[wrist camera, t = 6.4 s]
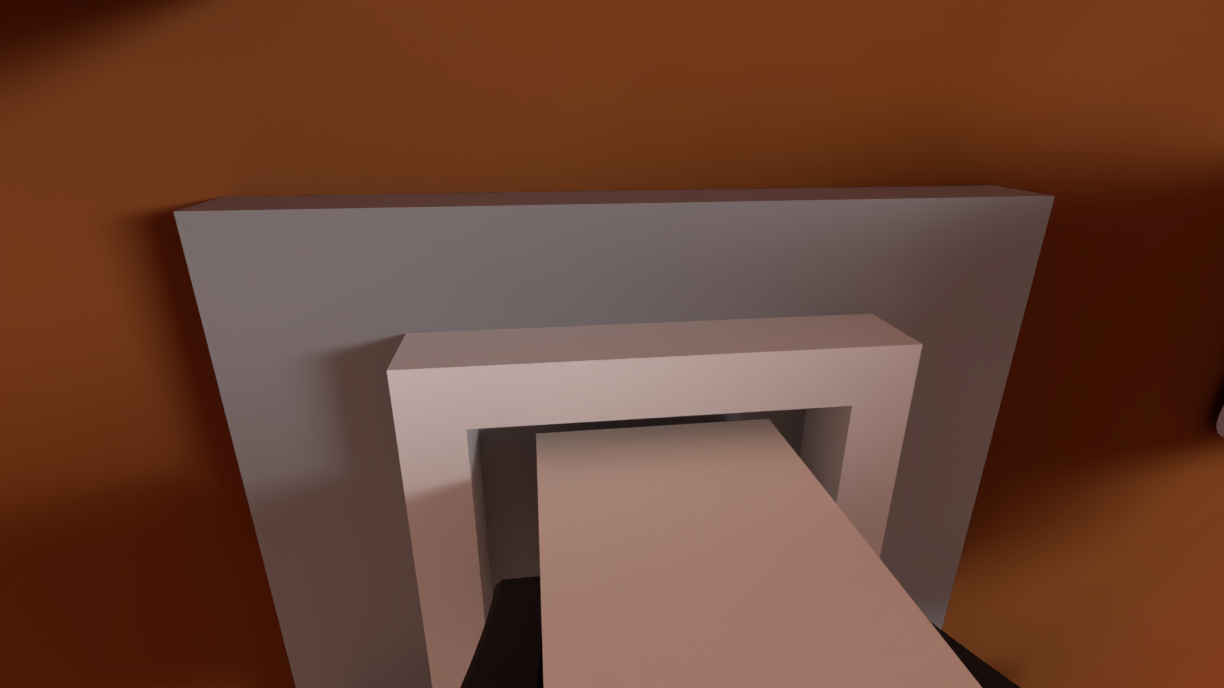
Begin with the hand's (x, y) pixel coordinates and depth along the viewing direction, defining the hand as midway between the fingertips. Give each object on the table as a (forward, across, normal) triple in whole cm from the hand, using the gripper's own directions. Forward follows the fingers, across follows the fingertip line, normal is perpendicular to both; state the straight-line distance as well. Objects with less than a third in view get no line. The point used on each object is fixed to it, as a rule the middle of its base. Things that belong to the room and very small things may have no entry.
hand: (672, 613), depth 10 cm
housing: (+4, 0, +5) cm, 6 cm away
